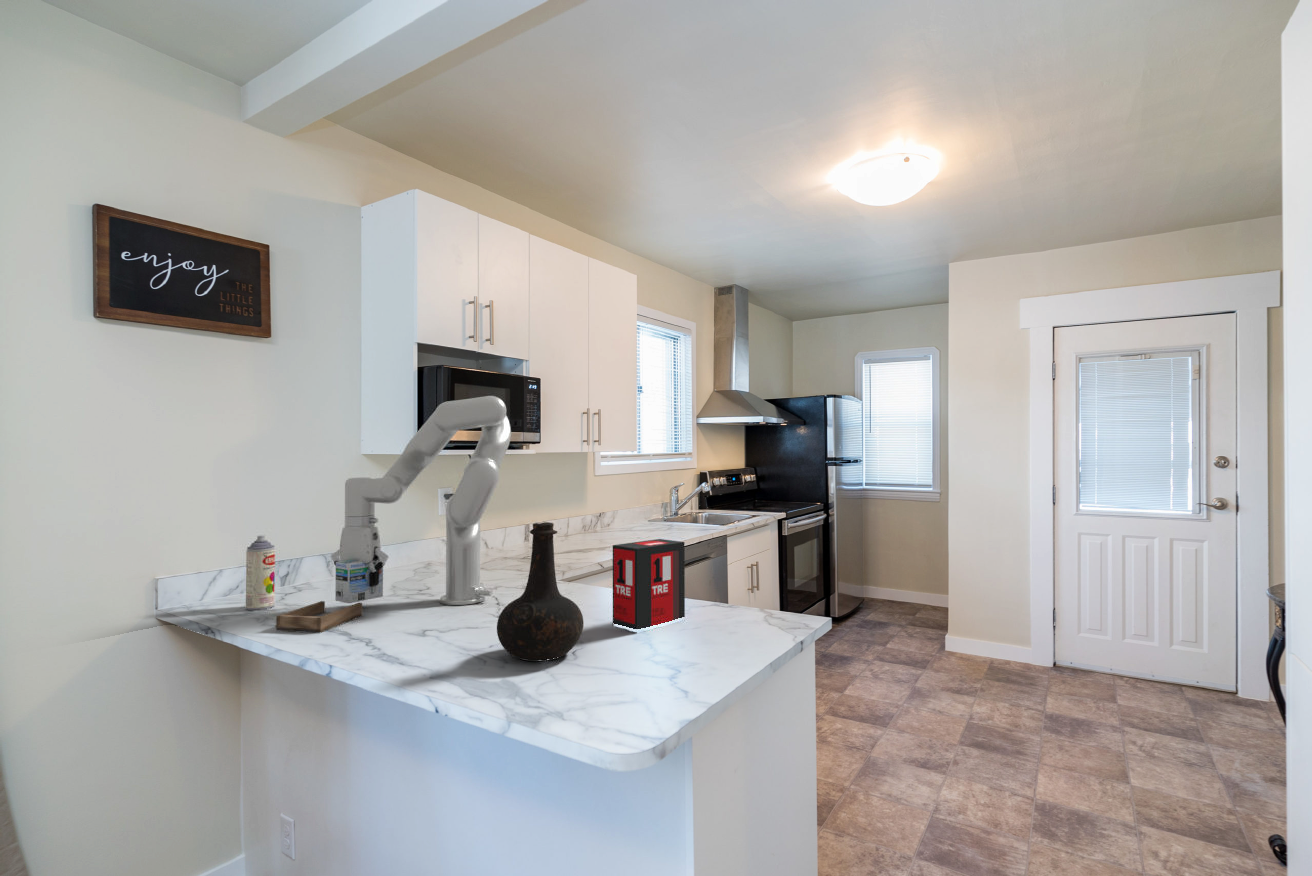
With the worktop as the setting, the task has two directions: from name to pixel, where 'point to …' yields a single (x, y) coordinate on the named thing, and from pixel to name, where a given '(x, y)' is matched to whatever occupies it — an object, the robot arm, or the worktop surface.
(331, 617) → the tray
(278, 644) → the worktop surface
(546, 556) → the glass bottle
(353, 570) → the light bulb box
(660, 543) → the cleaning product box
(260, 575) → the aerosol can
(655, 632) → the worktop surface
